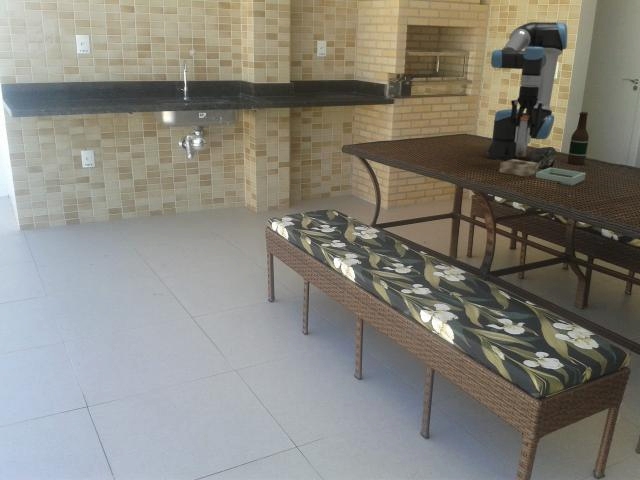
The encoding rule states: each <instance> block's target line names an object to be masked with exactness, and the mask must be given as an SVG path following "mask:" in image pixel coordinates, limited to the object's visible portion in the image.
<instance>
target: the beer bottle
mask: <svg viewBox="0 0 640 480" xmlns="http://www.w3.org/2000/svg"><path fill="white" fill-rule="evenodd" d="M578 115H579V117H578V118H579V119H578V122H577V127H576V130H574V132H573V133H572V134H571V138H570V142H569V143H570V144H569V150H568V155H567V164H570V165H573V166H583V165H585V163H586V158H587V151H588V147H589V145H588V144H589V133H588V131H587V122H588V115H589V112H588V111H587V112H586V111H580V112H579V113H578Z"/></svg>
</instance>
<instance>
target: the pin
mask: <svg viewBox="0 0 640 480" xmlns="http://www.w3.org/2000/svg"><path fill="white" fill-rule="evenodd" d="M529 127H530V121H529V116H520V122H519V130H518V138H517V146H516V154H515V155H516V156H519V157H521V158H522V157H527V152H528V145H529V143H528V144H527V143H526V140H527V132H528V128H529Z"/></svg>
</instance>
